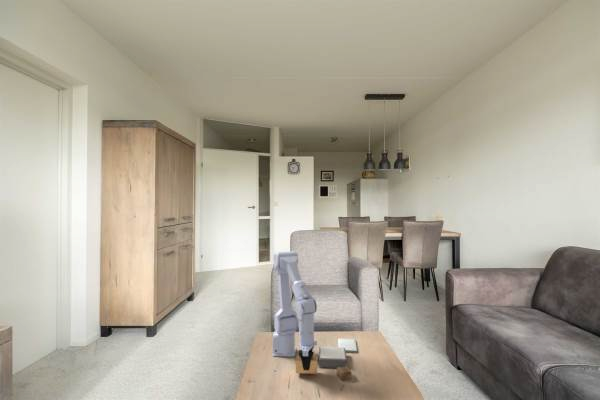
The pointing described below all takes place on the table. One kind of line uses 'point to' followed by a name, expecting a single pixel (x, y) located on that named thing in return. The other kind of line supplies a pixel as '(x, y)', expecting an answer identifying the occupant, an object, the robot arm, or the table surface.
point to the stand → (332, 357)
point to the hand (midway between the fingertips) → (306, 366)
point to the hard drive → (348, 345)
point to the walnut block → (344, 373)
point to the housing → (312, 365)
